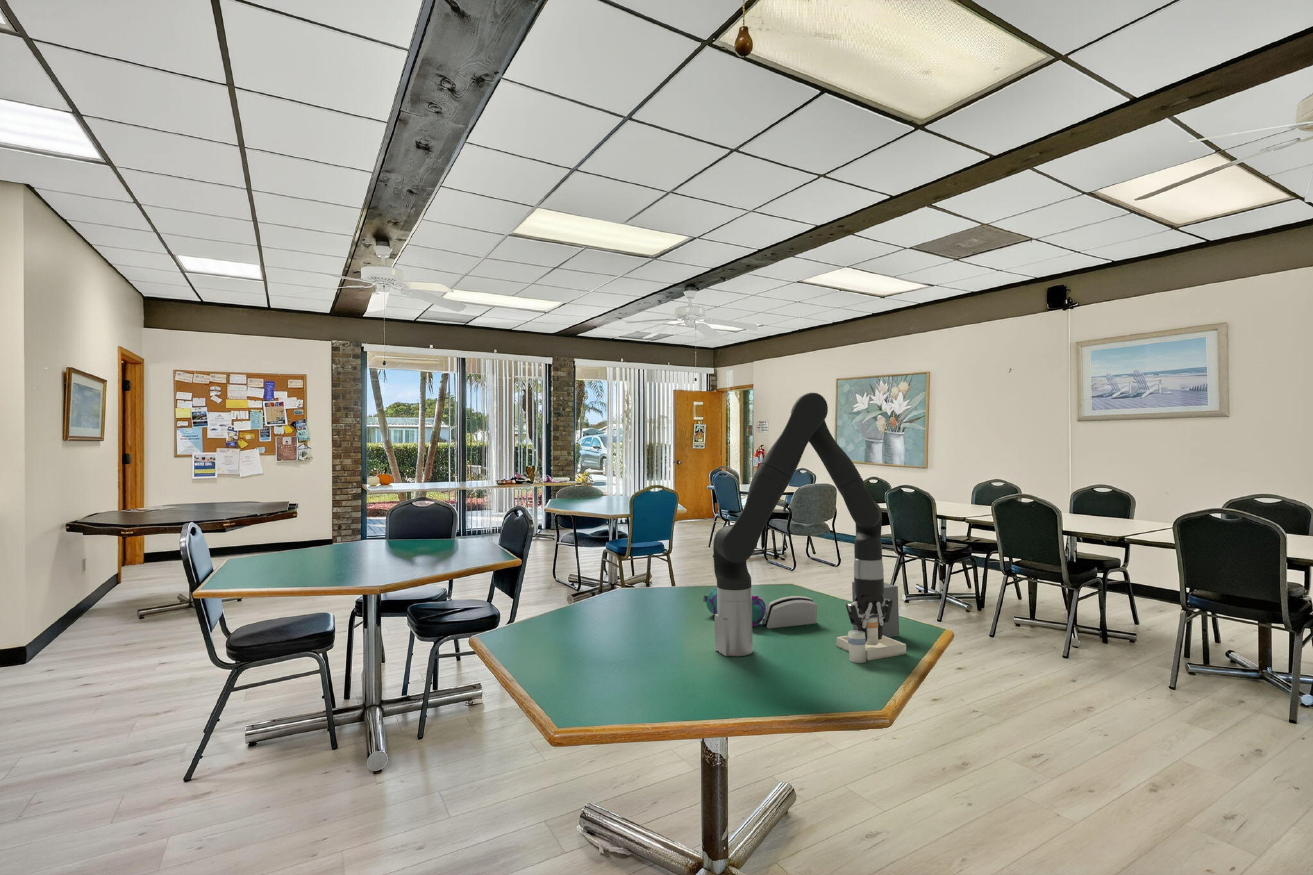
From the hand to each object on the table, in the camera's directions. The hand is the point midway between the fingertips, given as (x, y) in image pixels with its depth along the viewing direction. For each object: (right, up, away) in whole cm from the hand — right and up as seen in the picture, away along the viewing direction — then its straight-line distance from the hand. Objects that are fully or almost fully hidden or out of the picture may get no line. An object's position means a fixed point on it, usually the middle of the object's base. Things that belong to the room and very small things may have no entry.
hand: (870, 639), depth 163 cm
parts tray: (0, -3, 0) cm, 3 cm away
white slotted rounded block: (-16, -4, +25) cm, 30 cm away
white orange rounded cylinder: (0, -1, 0) cm, 1 cm away
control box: (+7, -3, +15) cm, 17 cm away
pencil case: (-32, -4, +31) cm, 45 cm away
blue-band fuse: (-6, -3, -8) cm, 10 cm away
